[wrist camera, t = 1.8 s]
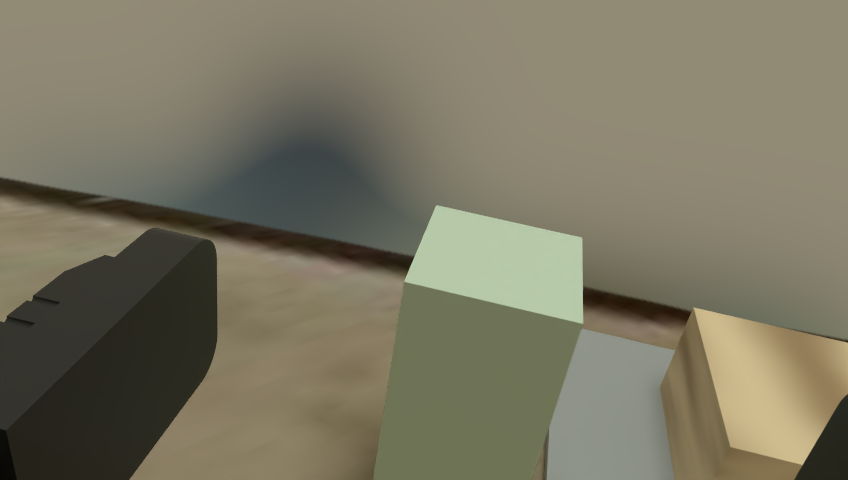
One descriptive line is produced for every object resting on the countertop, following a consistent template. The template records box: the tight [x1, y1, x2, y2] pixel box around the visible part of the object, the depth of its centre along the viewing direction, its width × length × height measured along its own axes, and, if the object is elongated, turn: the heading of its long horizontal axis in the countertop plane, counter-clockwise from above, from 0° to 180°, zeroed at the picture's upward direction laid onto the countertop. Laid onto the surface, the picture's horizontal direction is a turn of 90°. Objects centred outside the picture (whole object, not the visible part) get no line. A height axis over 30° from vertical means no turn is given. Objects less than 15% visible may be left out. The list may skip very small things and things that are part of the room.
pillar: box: [373, 206, 583, 480], centre depth 24 cm, size 5×5×12 cm
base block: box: [660, 308, 848, 480], centre depth 29 cm, size 9×9×5 cm
